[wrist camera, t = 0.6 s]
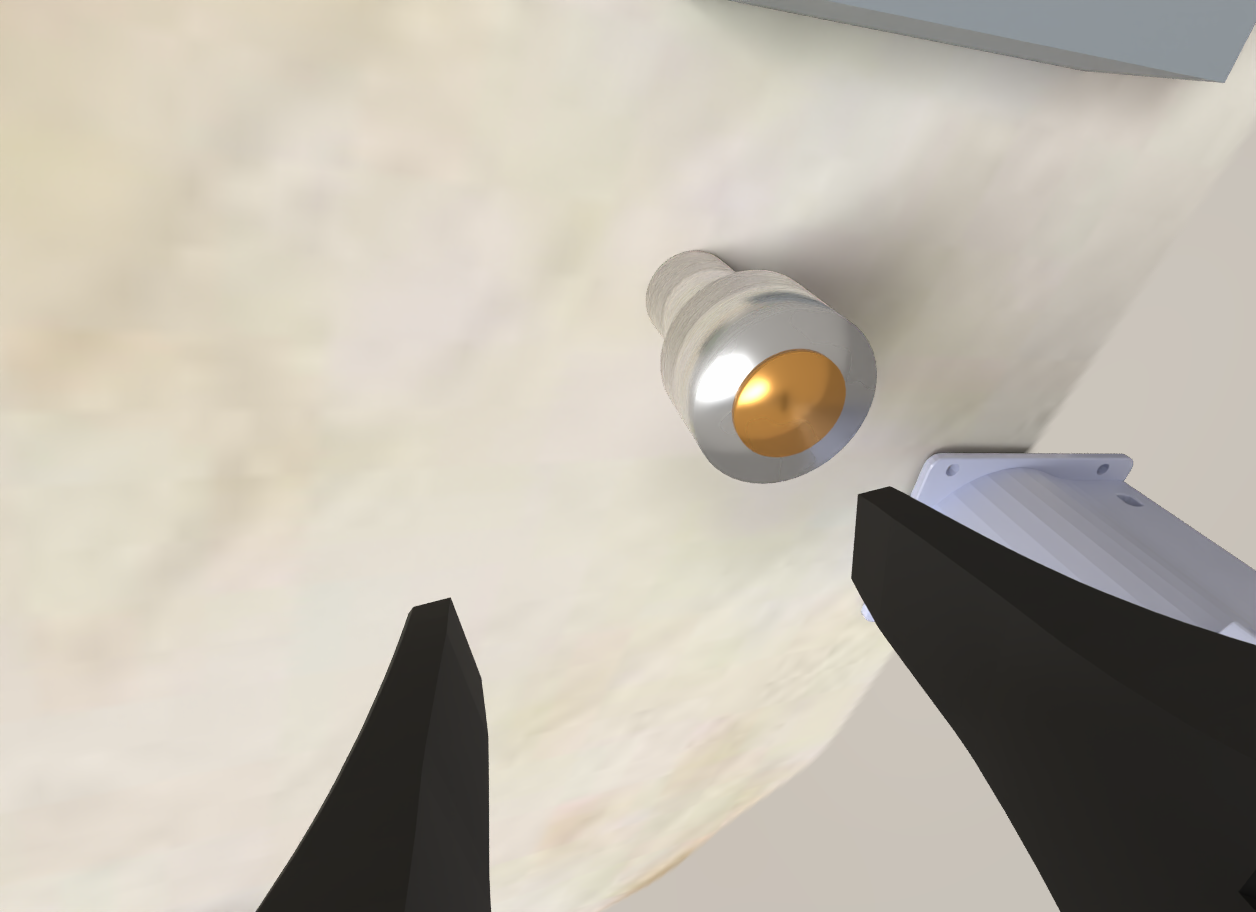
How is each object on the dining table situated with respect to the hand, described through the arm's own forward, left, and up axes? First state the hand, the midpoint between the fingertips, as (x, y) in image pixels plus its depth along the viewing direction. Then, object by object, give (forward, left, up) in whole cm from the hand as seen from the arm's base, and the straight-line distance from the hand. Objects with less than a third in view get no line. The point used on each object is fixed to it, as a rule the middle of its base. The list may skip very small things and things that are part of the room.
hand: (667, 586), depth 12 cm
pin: (-3, -2, -10) cm, 10 cm away
